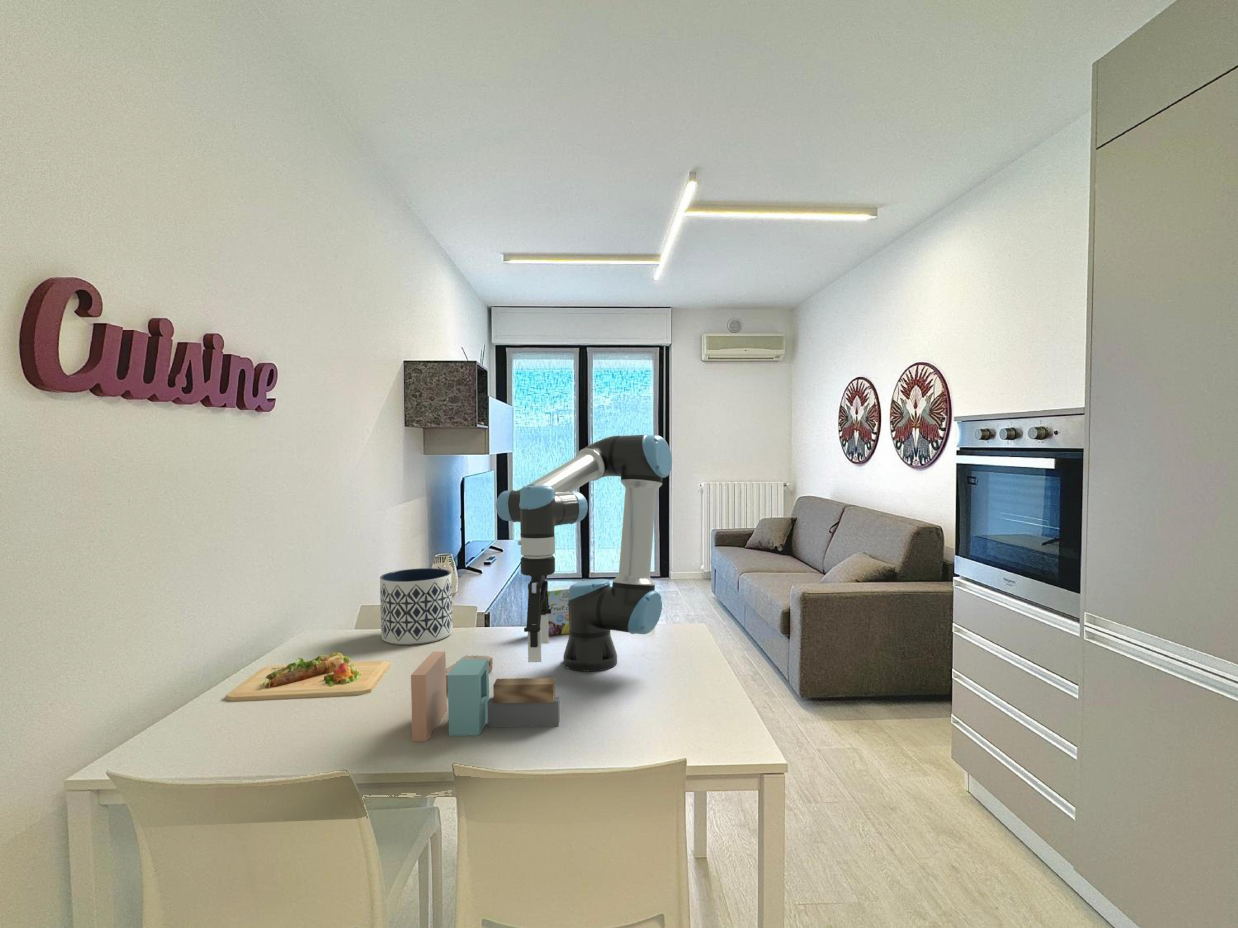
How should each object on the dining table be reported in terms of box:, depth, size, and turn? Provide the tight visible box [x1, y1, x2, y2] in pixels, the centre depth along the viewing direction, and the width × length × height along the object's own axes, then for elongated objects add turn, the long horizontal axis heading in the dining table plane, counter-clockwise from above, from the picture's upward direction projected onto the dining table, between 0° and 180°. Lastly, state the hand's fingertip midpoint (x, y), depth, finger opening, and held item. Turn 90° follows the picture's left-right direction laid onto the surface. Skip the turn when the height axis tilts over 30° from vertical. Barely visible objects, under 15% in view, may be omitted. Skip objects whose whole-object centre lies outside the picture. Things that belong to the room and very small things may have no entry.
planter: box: [379, 567, 454, 646], centre depth 219 cm, size 22×22×20 cm
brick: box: [446, 654, 494, 693], centre depth 177 cm, size 17×8×5 cm, turn 165°
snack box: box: [532, 584, 572, 637], centre depth 221 cm, size 21×6×15 cm, turn 117°
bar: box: [492, 677, 556, 703], centre depth 148 cm, size 13×4×4 cm, turn 90°
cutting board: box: [225, 652, 392, 702], centre depth 178 cm, size 35×23×8 cm
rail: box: [487, 695, 561, 728], centre depth 148 cm, size 16×3×6 cm, turn 90°
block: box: [447, 658, 490, 737], centre depth 148 cm, size 6×11×13 cm, turn 0°
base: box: [410, 650, 448, 742], centre depth 148 cm, size 3×16×14 cm, turn 0°
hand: (538, 652), depth 148 cm, fingers open, 13 cm apart
